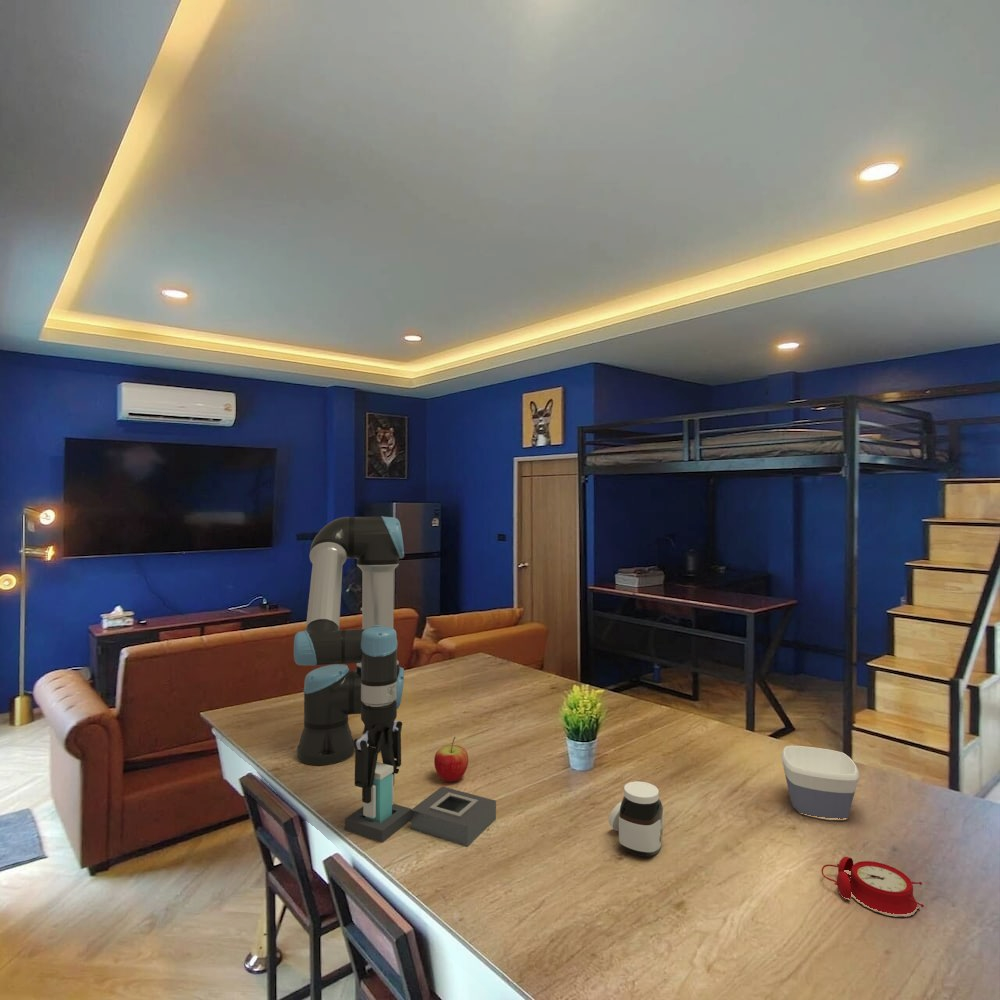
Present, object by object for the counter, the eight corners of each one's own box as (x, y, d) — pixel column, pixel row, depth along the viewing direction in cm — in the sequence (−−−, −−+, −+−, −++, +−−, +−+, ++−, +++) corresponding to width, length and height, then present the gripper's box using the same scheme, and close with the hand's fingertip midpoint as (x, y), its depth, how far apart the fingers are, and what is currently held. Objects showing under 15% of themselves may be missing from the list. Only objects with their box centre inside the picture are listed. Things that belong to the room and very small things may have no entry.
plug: (363, 827, 130) (363, 769, 130) (377, 817, 134) (377, 762, 134) (380, 832, 128) (380, 774, 128) (393, 822, 132) (393, 766, 132)
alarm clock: (927, 908, 100) (826, 859, 107) (916, 942, 100) (817, 891, 108) (924, 875, 108) (830, 832, 116) (914, 906, 109) (822, 861, 117)
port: (410, 828, 129) (410, 808, 129) (442, 803, 140) (442, 785, 140) (467, 846, 123) (467, 825, 123) (495, 818, 133) (496, 799, 133)
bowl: (849, 798, 143) (850, 750, 143) (865, 831, 129) (865, 779, 129) (778, 787, 148) (778, 742, 148) (785, 819, 134) (785, 768, 134)
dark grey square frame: (344, 829, 129) (344, 818, 129) (375, 808, 138) (375, 798, 138) (382, 842, 124) (382, 830, 124) (411, 819, 133) (411, 808, 133)
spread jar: (651, 865, 117) (652, 804, 117) (596, 847, 123) (596, 789, 123) (670, 836, 127) (670, 780, 127) (618, 821, 133) (618, 767, 133)
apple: (473, 775, 154) (474, 735, 154) (457, 789, 147) (457, 748, 147) (445, 769, 158) (445, 730, 158) (428, 783, 150) (428, 742, 150)
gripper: (364, 717, 121) (363, 834, 121) (418, 691, 137) (418, 795, 137) (335, 711, 124) (335, 825, 125) (391, 687, 141) (391, 787, 141)
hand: (378, 809), depth 131 cm, fingers open, 5 cm apart
